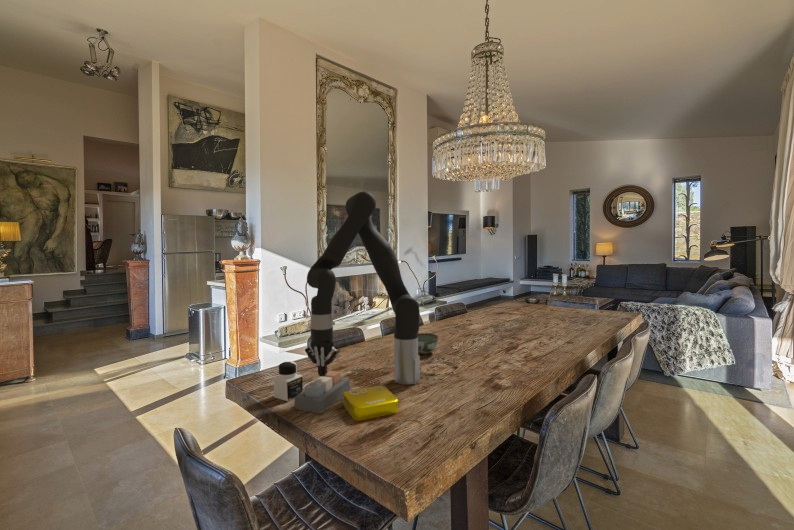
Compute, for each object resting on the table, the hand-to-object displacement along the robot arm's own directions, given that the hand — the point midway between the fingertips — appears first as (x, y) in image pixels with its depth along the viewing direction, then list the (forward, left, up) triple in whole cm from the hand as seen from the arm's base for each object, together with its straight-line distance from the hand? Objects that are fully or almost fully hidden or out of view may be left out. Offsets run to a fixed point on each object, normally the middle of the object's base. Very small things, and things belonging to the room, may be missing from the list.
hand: (322, 375), depth 133 cm
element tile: (-18, +1, -9) cm, 20 cm away
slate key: (0, +6, -5) cm, 8 cm away
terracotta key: (0, -6, -5) cm, 8 cm away
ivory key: (0, 0, -5) cm, 5 cm away
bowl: (-19, -63, -8) cm, 66 cm away
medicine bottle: (+13, +2, -8) cm, 15 cm away
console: (0, 0, -8) cm, 8 cm away
